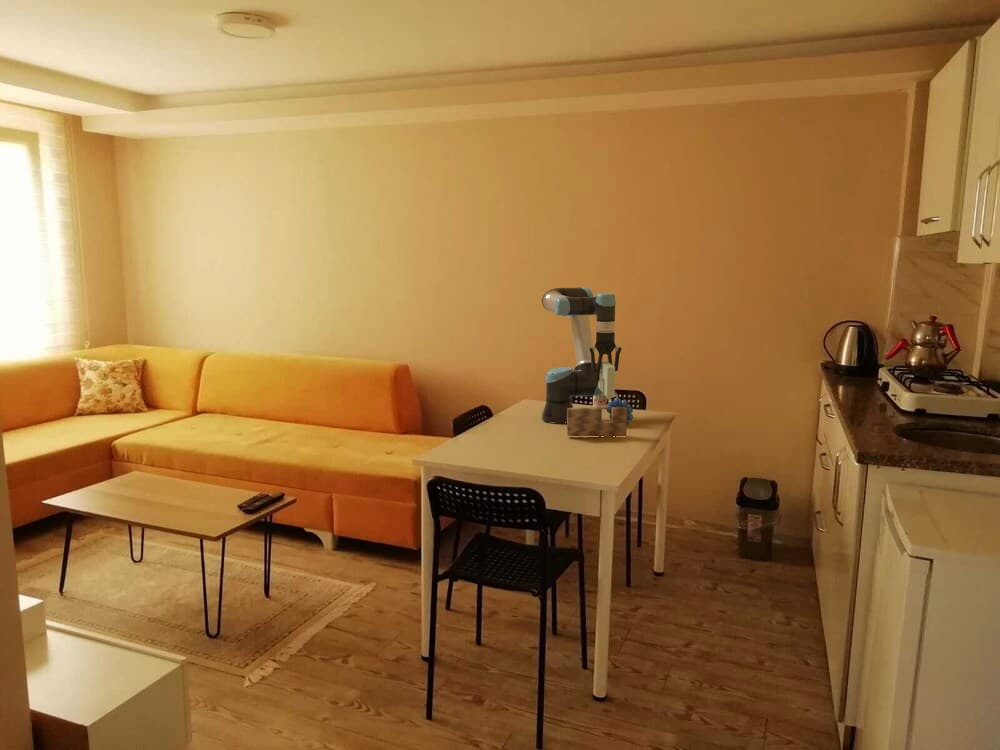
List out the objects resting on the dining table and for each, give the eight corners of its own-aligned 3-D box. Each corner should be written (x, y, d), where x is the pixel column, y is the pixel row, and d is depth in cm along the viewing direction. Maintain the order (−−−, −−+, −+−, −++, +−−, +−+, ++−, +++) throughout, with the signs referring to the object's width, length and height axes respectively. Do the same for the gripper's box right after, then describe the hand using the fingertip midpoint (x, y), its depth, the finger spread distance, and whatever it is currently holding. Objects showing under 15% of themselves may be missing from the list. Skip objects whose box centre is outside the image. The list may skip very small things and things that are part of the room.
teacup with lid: (591, 408, 349) (592, 384, 347) (593, 404, 357) (593, 381, 355) (616, 409, 346) (617, 385, 344) (618, 405, 355) (618, 381, 353)
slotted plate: (600, 389, 302) (600, 361, 300) (607, 389, 302) (607, 361, 300) (606, 397, 286) (607, 367, 284) (614, 397, 286) (615, 367, 284)
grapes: (604, 426, 314) (604, 399, 312) (607, 422, 321) (607, 396, 319) (631, 428, 311) (632, 400, 308) (633, 424, 317) (634, 397, 315)
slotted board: (567, 438, 296) (568, 409, 293) (566, 436, 299) (567, 407, 296) (626, 437, 296) (627, 408, 294) (624, 435, 299) (625, 407, 297)
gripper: (587, 332, 292) (586, 390, 296) (627, 332, 292) (625, 389, 297) (584, 330, 299) (583, 386, 303) (623, 330, 300) (622, 386, 304)
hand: (604, 388), depth 300 cm, fingers closed on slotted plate, 3 cm apart
